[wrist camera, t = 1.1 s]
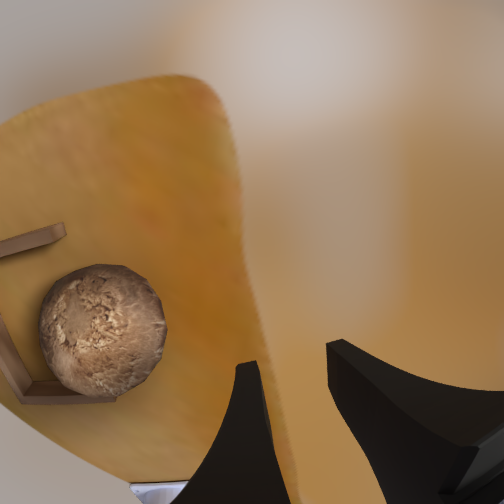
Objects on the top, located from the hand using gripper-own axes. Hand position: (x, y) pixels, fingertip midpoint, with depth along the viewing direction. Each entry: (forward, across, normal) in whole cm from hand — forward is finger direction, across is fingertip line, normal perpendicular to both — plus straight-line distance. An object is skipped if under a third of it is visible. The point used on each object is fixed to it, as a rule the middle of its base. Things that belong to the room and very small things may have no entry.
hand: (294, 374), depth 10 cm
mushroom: (+10, +9, 0) cm, 13 cm away
